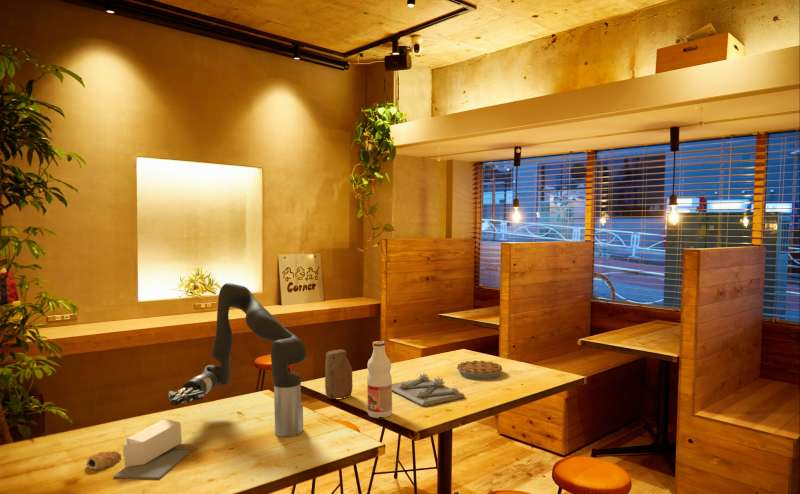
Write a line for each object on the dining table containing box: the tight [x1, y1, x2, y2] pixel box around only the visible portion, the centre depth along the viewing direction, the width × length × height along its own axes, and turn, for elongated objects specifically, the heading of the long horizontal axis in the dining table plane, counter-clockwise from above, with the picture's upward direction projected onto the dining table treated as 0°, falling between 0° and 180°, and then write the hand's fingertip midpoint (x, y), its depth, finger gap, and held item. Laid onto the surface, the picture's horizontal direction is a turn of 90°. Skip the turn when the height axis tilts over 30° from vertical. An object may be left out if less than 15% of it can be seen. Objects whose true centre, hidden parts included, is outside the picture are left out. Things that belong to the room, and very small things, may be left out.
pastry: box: [85, 451, 122, 471], centre depth 170 cm, size 9×7×4 cm
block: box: [324, 349, 353, 400], centre depth 232 cm, size 11×8×20 cm
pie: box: [456, 360, 503, 380], centre depth 266 cm, size 22×22×5 cm
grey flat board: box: [113, 443, 197, 480], centre depth 170 cm, size 16×21×2 cm
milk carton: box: [122, 418, 183, 468], centre depth 173 cm, size 7×7×19 cm
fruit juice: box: [366, 340, 393, 419], centre depth 210 cm, size 9×9×28 cm
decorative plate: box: [392, 373, 466, 408], centre depth 236 cm, size 30×22×7 cm
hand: (173, 403), depth 181 cm, fingers closed
